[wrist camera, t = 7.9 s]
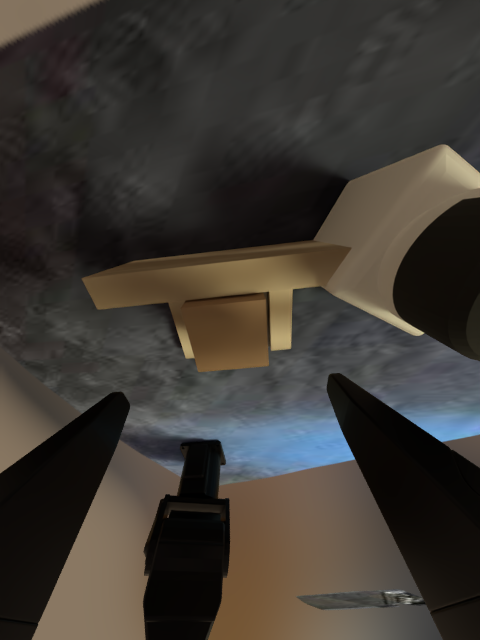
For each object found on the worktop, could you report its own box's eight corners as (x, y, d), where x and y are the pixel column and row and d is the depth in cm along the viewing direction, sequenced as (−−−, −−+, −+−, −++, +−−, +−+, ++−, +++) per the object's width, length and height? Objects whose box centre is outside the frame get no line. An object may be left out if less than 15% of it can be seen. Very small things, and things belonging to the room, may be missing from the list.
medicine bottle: (355, 299, 18) (531, 408, 7) (294, 268, 16) (402, 347, 6) (415, 225, 15) (870, 223, 4) (348, 179, 13) (783, -7, 3)
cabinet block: (259, 330, 18) (269, 373, 13) (211, 335, 18) (200, 379, 13) (256, 274, 16) (265, 299, 10) (199, 280, 16) (180, 308, 11)
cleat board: (310, 338, 20) (336, 379, 14) (167, 351, 20) (142, 396, 15) (318, 239, 15) (362, 246, 10) (134, 260, 16) (81, 278, 10)
